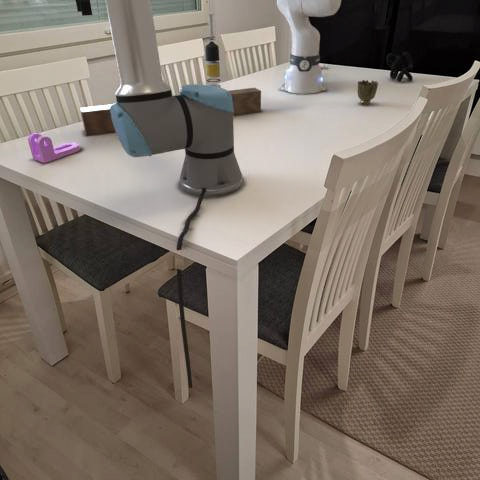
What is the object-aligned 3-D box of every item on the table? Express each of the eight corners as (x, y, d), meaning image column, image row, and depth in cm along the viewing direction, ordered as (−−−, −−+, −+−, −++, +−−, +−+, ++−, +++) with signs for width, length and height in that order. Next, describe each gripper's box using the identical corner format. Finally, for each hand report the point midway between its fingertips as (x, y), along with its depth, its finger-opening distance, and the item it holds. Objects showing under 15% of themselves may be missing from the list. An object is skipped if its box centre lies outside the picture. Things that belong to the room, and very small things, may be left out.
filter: (222, 96, 181) (219, 14, 165) (209, 97, 179) (205, 14, 164) (218, 93, 186) (215, 12, 170) (205, 94, 184) (200, 13, 168)
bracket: (44, 163, 123) (37, 138, 119) (33, 158, 126) (26, 134, 122) (83, 149, 132) (78, 126, 128) (72, 145, 135) (67, 122, 131)
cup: (352, 105, 167) (355, 83, 163) (357, 100, 172) (360, 79, 168) (372, 107, 164) (375, 85, 160) (377, 102, 169) (380, 80, 165)
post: (86, 135, 143) (81, 112, 139) (84, 130, 147) (79, 107, 143) (260, 111, 162) (261, 90, 158) (254, 108, 166) (254, 87, 163)
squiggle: (400, 92, 202) (376, 71, 205) (417, 76, 202) (392, 56, 205) (405, 81, 191) (380, 59, 194) (423, 64, 191) (397, 42, 194)
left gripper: (88, -81, 109) (104, 16, 120) (78, -74, 128) (92, 9, 140) (56, -81, 106) (75, 18, 118) (51, -74, 126) (67, 10, 137)
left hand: (84, 13), depth 129 cm, fingers open, 13 cm apart
